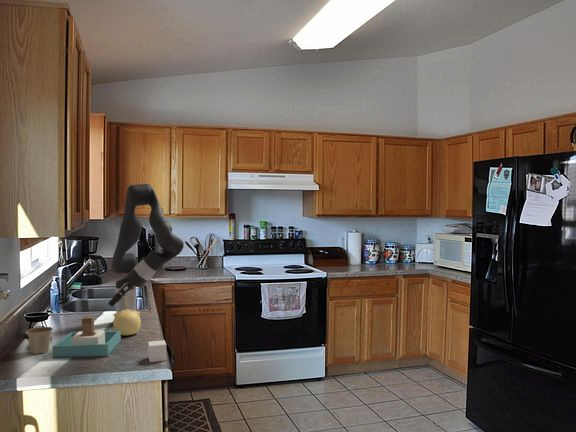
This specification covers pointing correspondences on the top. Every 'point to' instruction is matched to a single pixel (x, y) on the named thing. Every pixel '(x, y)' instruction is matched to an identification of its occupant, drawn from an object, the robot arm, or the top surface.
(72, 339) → the socket box
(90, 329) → the peg
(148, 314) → the top surface
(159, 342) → the light grey cube
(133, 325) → the sculpture
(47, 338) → the flower pot
